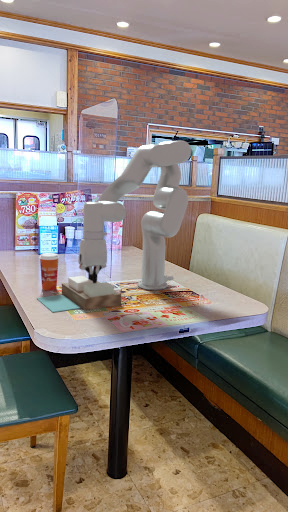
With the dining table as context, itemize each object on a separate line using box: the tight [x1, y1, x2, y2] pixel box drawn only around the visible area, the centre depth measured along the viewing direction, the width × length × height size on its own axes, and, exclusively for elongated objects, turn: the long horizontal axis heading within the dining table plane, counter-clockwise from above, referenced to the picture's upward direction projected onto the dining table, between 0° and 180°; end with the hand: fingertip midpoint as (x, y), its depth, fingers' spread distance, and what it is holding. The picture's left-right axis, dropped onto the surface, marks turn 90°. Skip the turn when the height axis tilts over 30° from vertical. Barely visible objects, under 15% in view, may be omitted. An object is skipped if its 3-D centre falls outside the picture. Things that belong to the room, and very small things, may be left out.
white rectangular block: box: [67, 275, 93, 291], centre depth 150 cm, size 6×9×3 cm, turn 32°
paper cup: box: [38, 252, 60, 292], centre depth 160 cm, size 8×8×14 cm
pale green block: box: [84, 281, 115, 297], centre depth 143 cm, size 6×9×3 cm, turn 122°
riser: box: [61, 280, 122, 311], centre depth 150 cm, size 14×22×4 cm, turn 32°
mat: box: [36, 294, 82, 313], centre depth 143 cm, size 10×17×1 cm, turn 32°
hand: (92, 283), depth 153 cm, fingers closed
